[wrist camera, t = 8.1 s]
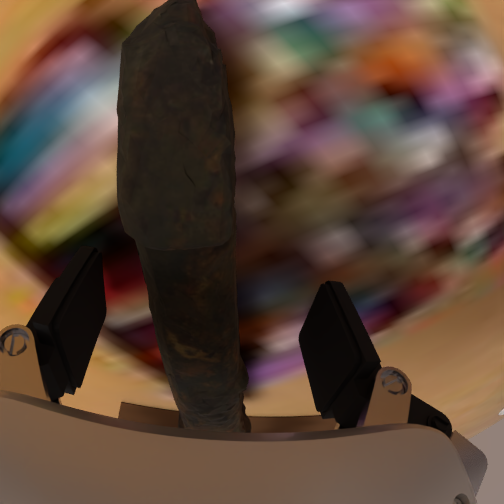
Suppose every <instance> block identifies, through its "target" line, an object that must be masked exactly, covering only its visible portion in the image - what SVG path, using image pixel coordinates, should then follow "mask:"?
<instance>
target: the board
mask: <svg viewBox="0 0 504 504" xmlns="http://www.w3.org/2000/svg"><path fill="white" fill-rule="evenodd" d="M178 418H179V412H178V411H170V410H163V409H156V408H150V407H144V406H138V405H132V404H127V403H122V402H121V406H120V411H119V417H118V419H123V420H128V421H134V422H139V423H145V424H152V425H159V426H166V427H174V428H178ZM248 418H249V419H250V422H251V428H252V429H251V433H292V432H312V431H325V430H334V429H335V426H336V424H337V422H336V421H335V418H331V419H322V417H321V416H308V417H248Z"/></svg>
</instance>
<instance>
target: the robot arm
mask: <svg viewBox="0 0 504 504" xmlns="http://www.w3.org/2000/svg"><path fill="white" fill-rule="evenodd" d="M105 317H106V300H105V290H104V279H103V265H102V254H101V253H100V252H98V250H97V248H95V247H88V246H81V247H80V248H79V250H78V251H77V253H76V254H75V255H74V257H73V258H72V260H71V261H70V262H69V264H68V265H67V267H66V268H65V270H64V271H63V273H62V274H61V276H60V277H58V278H56V279H55V280H54V282H53V283H52V285H51V286H50V288H49V289H48V291H47V292H46V294H45V295H44V297H43V299H42V300H41V302H40V303H39V305H38V307H37V308H36V310H35V312H34V313H33V315H32V317H31V318H30V320H29V322H28V324H27V325H26V326H24V325H19V324H15V325H10V326H7V327H5V328H4V329H2V330H1V331H0V504H477V501H476V498H475V497H476V495H477V492H478V490H479V487H480V485H481V483H482V480H483V477H484V475H485V472H486V469H487V458H486V456H485V455H484V453H483V452H482V451H481V450H479V449H478V448H477V447H476V446H474V445H473V444H472V443H471V442H469V441H468V440H467V439H466V438H464V437H463V436H462V435H461V434H460V433H458V432H457V431H456V430H455V431H453V432H452V426H451V423H450V421H449V419H448V418H447V417H446V415H444V414H443V413H442V412H440V411H438V410H437V409H435V408H433V407H432V406H430V405H429V404H427V403H425V402H424V401H422V400H420V399H419V398H417V397H415V396H414V395H412V394H411V391H412V386H411V382H410V380H409V378H408V377H407V375H406V374H405V373H403V372H402V371H401V370H399V369H397V368H394V367H383V368H382V367H381V365H380V362H381V361H380V359H379V356H378V354H377V352H376V350H375V348H374V346H373V344H372V341H371V339H370V337H369V335H368V333H367V331H366V329H365V327H364V325H363V323H362V321H361V319H360V317H359V315H358V313H357V311H356V309H355V307H354V305H353V303H352V301H351V299H350V297H349V295H348V293H347V291H346V289H345V287H344V285H343V284H342V283H341V282H336V281H326V282H325V284H321V286H320V288H319V290H318V292H317V295H316V297H315V299H314V302H313V304H312V306H311V309H310V311H309V313H308V315H307V318H306V320H305V322H304V324H303V327H302V329H301V331H300V333H299V344H300V348H301V352H302V356H303V359H304V363H305V367H306V371H307V375H308V379H309V383H310V387H311V391H312V395H313V399H314V403H315V407H316V410H317V411H318V412H320V413H321V417H322V419H331V418H335V421H336V422H337V424H336V426H335V429H334V430H325V431H312V432H292V433H237V432H217V431H203V430H192V429H182V428H174V427H166V426H159V425H152V424H145V423H139V422H134V421H128V420H123V419H118V418H113V417H109V416H104V415H100V414H95V413H91V412H87V411H83V410H79V409H75V408H71V407H68V406H64V405H62V403H61V399H60V397H62V396H63V395H64V392H65V393H69V394H72V395H74V394H75V390H76V387H77V388H80V387H81V385H82V382H83V379H84V376H85V373H86V370H87V367H88V364H89V361H90V358H91V355H92V352H93V350H94V347H95V344H96V341H97V338H98V336H99V333H100V330H101V328H102V325H103V323H104V320H105Z"/></svg>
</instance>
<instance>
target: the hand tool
mask: <svg viewBox="0 0 504 504" xmlns="http://www.w3.org/2000/svg"><path fill="white" fill-rule="evenodd" d="M117 114H118V153H117V199H118V209H119V213H120V217H121V221H122V224H123V227H124V230H125V233H127V234H128V235H129V236H131V237H132V238H133V239H135V241H136V245H137V249H138V255H139V257H140V261H141V266H142V270H143V274H144V279H145V282H146V284H147V290H148V296H149V308H150V311H151V314H152V318H153V323H154V327H155V334H156V338H157V342H158V346H159V350H160V353H161V357H162V360H163V364H164V367H165V371H166V375H167V377H168V381H169V384H170V387H171V390H172V393H173V397H174V400H175V402H176V405H177V407H178V409H179V418H178V428H182V429H192V430H203V431H217V432H237V433H251V429H252V428H251V422H250V419H249V418H248V416H247V415H246V414H245V409H246V407H245V406H244V404H243V400H244V395H243V393H242V392H243V391H244V390H246V387H247V384H248V380H249V377H248V373H247V369H246V366H245V364H244V362H243V360H242V358H241V355H240V340H239V318H238V309H237V285H236V277H237V275H236V211H235V207H234V196H235V184H236V174H235V154H234V138H235V131H234V123H233V113H232V105H231V102H230V99H229V95H228V88H227V73H226V65H224V64H223V63H222V53H221V50H220V49H219V48H217V45H216V39H215V33H214V32H213V31H212V29H211V28H210V27H209V26H208V25H207V24H206V23H205V21H204V20H203V18H202V14H201V11H200V9H199V7H198V4H197V1H196V0H168V1H167V2H165V3H164V4H163V5H161V6H160V7H158V8H156V9H154V10H153V12H152V13H151V14H150V15H149V16H148V17H146V18H145V19H144V20H143V21H142V22H141V23H140V24H138V25H137V26H136V28H135V29H134V30H133V32H132V33H131V35H130V36H129V37H128V38H127V39H126V40H125V41H124V42H123V43H122V52H121V64H120V78H119V90H118V100H117Z"/></svg>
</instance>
